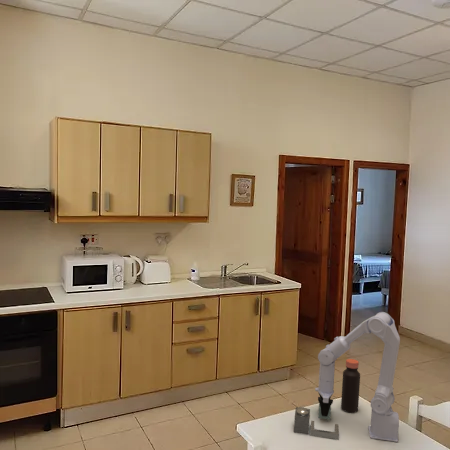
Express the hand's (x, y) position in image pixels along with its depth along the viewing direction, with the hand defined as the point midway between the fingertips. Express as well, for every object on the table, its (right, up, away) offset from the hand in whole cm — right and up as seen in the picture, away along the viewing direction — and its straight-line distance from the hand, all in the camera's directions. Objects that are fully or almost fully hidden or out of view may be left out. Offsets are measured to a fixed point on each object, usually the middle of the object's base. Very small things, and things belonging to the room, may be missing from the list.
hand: (324, 412), depth 175 cm
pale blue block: (0, -2, 0) cm, 2 cm away
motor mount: (-6, -2, -11) cm, 13 cm away
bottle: (+12, -2, +7) cm, 14 cm away
